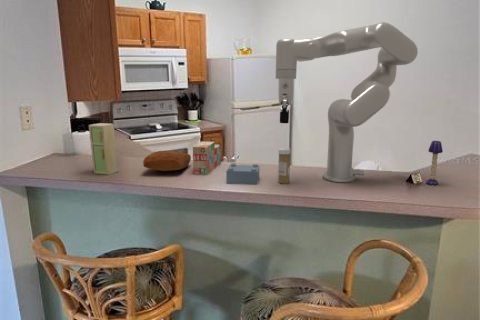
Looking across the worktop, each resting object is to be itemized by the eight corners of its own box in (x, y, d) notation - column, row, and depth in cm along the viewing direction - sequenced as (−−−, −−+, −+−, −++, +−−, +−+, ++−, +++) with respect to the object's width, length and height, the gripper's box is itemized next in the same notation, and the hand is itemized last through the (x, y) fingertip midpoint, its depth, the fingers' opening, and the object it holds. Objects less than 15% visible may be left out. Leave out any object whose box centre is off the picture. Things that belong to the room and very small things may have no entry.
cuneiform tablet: (179, 177, 144) (178, 158, 142) (139, 176, 146) (138, 157, 144) (193, 165, 165) (193, 148, 163) (159, 163, 167) (158, 147, 166)
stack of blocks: (208, 163, 169) (207, 137, 167) (220, 163, 168) (220, 138, 165) (193, 174, 149) (192, 146, 146) (207, 175, 148) (206, 146, 145)
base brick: (259, 177, 144) (259, 163, 142) (257, 184, 134) (257, 169, 133) (230, 176, 145) (230, 162, 144) (226, 183, 136) (226, 168, 134)
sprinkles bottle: (292, 182, 136) (293, 148, 133) (283, 184, 134) (284, 150, 131) (284, 180, 140) (285, 146, 137) (275, 181, 137) (276, 148, 134)
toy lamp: (437, 186, 130) (443, 142, 127) (423, 184, 133) (429, 141, 129) (438, 183, 134) (444, 140, 131) (425, 181, 137) (430, 139, 133)
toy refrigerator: (92, 173, 150) (87, 124, 145) (104, 169, 157) (100, 122, 152) (106, 175, 147) (102, 125, 143) (118, 171, 154) (114, 123, 149)
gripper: (296, 74, 119) (294, 124, 123) (296, 75, 136) (294, 119, 140) (274, 74, 120) (273, 124, 124) (276, 75, 137) (275, 118, 141)
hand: (284, 121), depth 132 cm, fingers open, 9 cm apart
